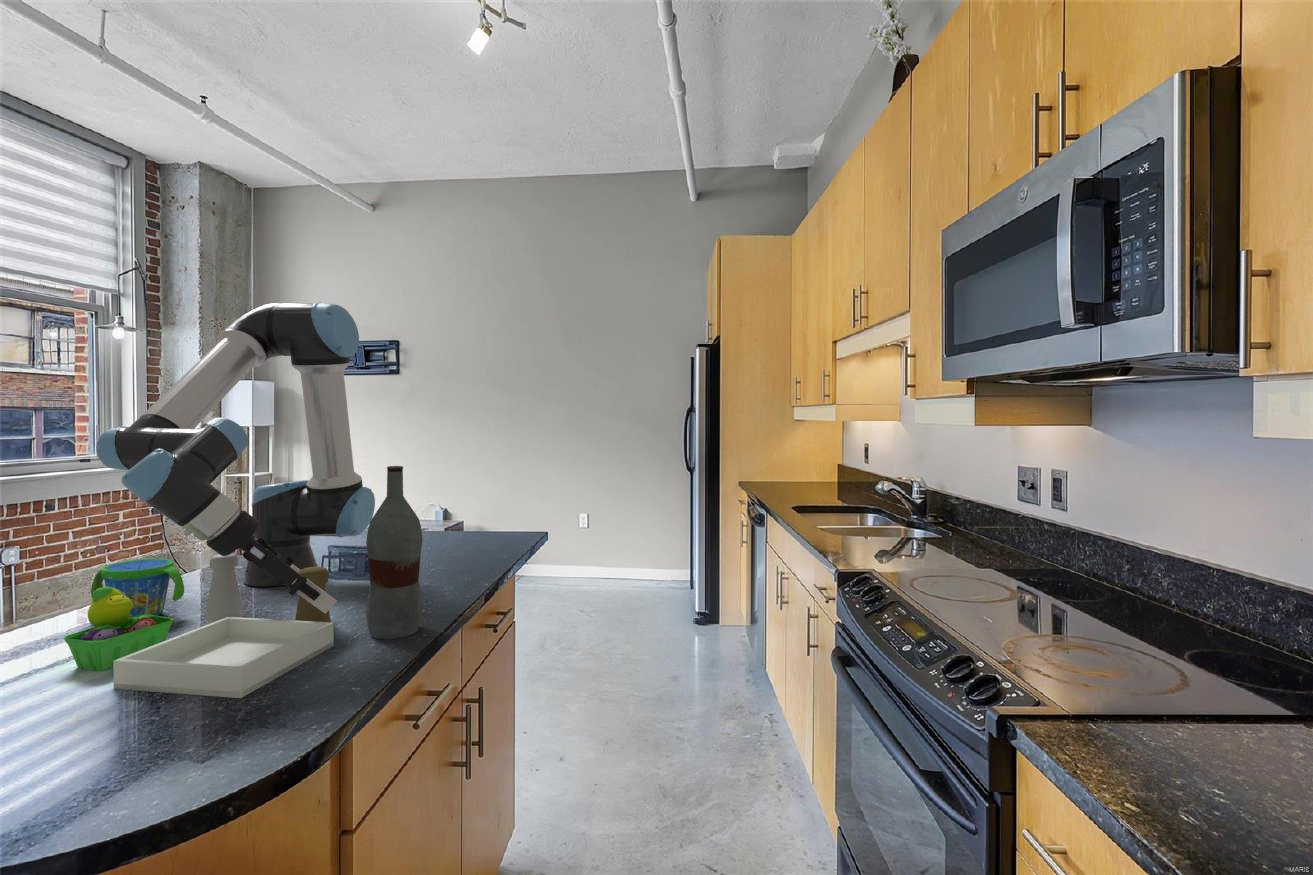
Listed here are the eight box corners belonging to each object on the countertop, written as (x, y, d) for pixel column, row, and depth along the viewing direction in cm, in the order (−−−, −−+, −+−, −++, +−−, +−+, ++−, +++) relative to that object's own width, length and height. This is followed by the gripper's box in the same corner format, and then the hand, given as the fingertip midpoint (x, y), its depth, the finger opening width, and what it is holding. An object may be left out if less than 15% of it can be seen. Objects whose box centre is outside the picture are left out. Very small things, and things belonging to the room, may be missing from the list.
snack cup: (199, 610, 121) (199, 559, 120) (152, 627, 110) (151, 572, 110) (126, 607, 122) (125, 557, 121) (72, 624, 111) (71, 569, 111)
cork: (304, 635, 107) (304, 573, 107) (287, 628, 111) (286, 568, 110) (338, 625, 113) (338, 566, 112) (320, 619, 116) (320, 562, 115)
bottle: (365, 643, 104) (366, 468, 103) (366, 627, 112) (366, 465, 111) (424, 636, 108) (424, 467, 107) (420, 620, 116) (421, 464, 115)
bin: (227, 639, 105) (227, 616, 104) (333, 646, 102) (333, 622, 102) (113, 688, 85) (113, 660, 85) (240, 698, 83) (240, 669, 83)
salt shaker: (250, 619, 115) (250, 551, 115) (226, 629, 109) (226, 558, 109) (222, 618, 116) (222, 550, 115) (196, 628, 110) (196, 557, 110)
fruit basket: (95, 676, 89) (94, 600, 89) (55, 668, 92) (54, 594, 92) (176, 649, 100) (176, 581, 100) (138, 642, 103) (138, 576, 102)
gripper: (198, 532, 110) (293, 599, 120) (209, 556, 91) (321, 633, 101) (234, 500, 113) (323, 569, 123) (251, 517, 94) (355, 596, 104)
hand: (322, 598), depth 112 cm, fingers open, 13 cm apart
